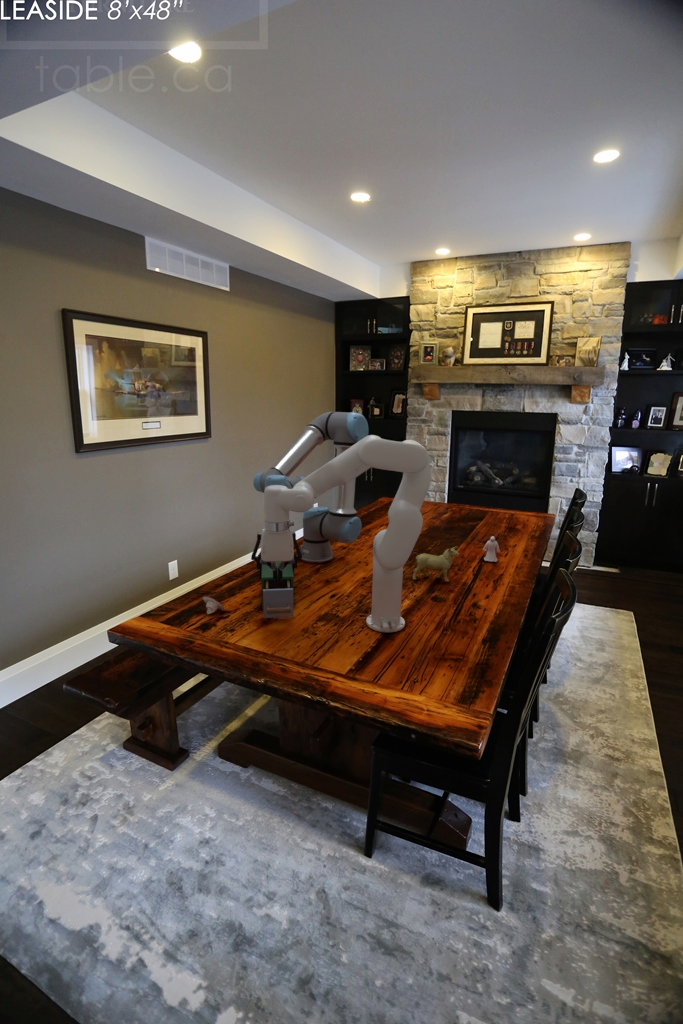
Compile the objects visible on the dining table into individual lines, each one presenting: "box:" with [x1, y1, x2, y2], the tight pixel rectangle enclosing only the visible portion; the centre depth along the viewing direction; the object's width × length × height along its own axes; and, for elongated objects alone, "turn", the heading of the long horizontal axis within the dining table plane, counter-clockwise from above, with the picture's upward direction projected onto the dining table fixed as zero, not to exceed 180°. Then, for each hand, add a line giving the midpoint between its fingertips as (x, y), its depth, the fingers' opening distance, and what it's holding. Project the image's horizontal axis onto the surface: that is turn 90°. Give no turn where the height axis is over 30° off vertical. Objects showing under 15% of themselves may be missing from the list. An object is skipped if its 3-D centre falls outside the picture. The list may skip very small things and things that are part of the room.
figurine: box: [482, 535, 501, 563], centre depth 223 cm, size 8×8×12 cm
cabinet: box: [260, 562, 295, 610], centre depth 179 cm, size 16×11×12 cm, turn 8°
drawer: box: [262, 579, 294, 619], centre depth 167 cm, size 21×10×10 cm, turn 8°
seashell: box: [202, 596, 226, 615], centre depth 167 cm, size 8×5×8 cm
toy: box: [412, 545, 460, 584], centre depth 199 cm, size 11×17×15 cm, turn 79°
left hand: (277, 577), depth 183 cm, fingers closed on cabinet, 11 cm apart
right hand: (277, 581), depth 159 cm, fingers closed
